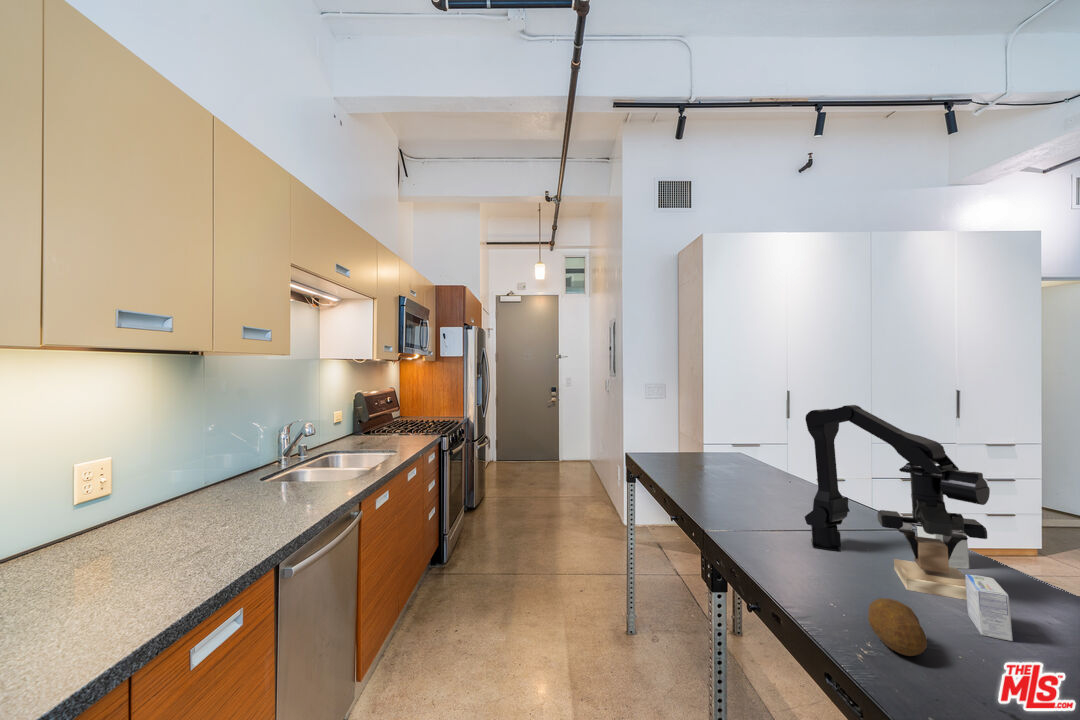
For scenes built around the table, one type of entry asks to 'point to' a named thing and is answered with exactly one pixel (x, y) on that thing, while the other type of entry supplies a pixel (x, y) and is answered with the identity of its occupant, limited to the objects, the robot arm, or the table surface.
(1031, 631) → the table surface
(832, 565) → the table surface
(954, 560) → the supplement box
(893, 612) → the potato
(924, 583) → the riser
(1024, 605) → the table surface
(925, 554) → the walnut block
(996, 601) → the medicine box
